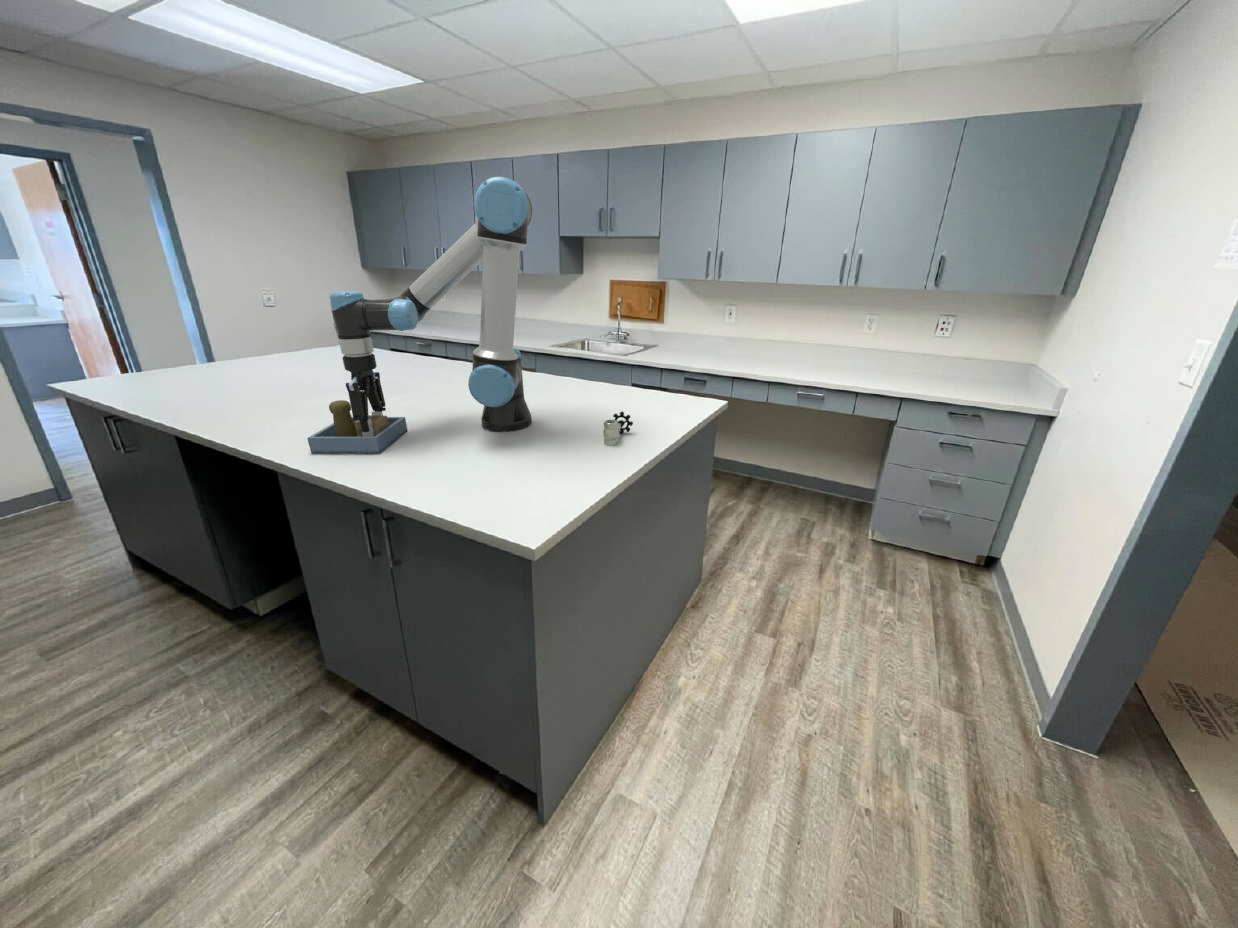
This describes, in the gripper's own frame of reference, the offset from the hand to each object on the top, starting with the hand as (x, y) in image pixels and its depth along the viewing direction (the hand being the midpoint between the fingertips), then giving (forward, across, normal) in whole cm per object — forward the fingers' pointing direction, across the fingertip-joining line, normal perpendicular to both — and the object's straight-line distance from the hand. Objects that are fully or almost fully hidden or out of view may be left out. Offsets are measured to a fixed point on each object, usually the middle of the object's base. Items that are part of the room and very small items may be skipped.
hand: (375, 437), depth 135 cm
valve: (+1, -2, +67) cm, 67 cm away
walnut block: (0, 0, 0) cm, 1 cm away
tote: (+1, 0, -4) cm, 4 cm away
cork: (+1, 0, -8) cm, 8 cm away
